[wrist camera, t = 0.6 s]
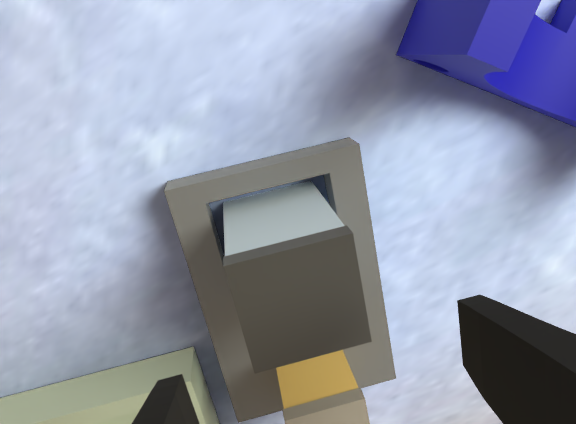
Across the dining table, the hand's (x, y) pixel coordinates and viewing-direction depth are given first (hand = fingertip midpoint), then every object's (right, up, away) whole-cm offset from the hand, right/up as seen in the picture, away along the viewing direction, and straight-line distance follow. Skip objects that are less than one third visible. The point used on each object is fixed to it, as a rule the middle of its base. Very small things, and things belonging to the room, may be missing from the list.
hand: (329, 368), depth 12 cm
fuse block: (-1, +1, +10) cm, 10 cm away
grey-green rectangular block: (-2, +3, +9) cm, 10 cm away
